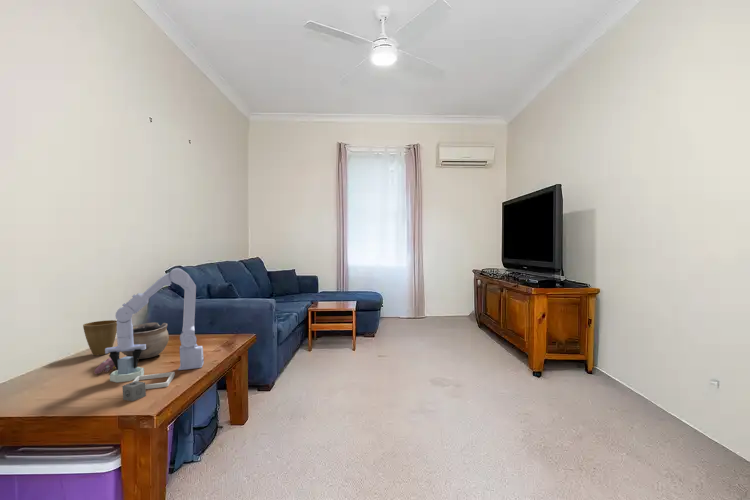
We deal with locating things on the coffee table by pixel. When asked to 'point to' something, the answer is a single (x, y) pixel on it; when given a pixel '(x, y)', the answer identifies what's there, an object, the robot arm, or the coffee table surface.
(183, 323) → the robot arm
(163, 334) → the ceramic bowl
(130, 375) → the ceramic dish
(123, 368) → the slate block
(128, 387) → the dice cube
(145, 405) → the coffee table surface
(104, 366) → the video game controller
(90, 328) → the plant pot
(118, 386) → the coffee table surface
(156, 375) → the white flat frame piece
